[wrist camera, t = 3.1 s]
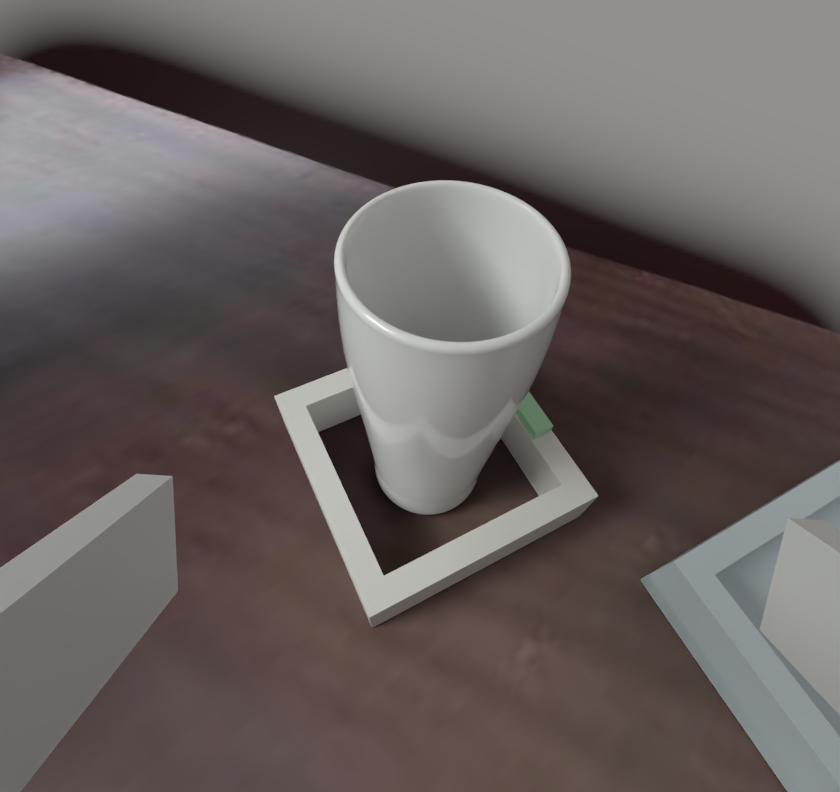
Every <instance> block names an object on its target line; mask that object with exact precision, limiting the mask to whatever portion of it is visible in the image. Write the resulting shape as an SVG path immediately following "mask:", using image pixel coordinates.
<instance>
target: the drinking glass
mask: <svg viewBox="0 0 840 792" xmlns="http://www.w3.org/2000/svg"><path fill="white" fill-rule="evenodd" d="M334 270H335V282H336V297H337V308H338V318H339V326H340V334H341V340H342V346H343V351H344V356H345V360H346V365H347V369H348V373H349V376H350V380H351V384H352V387H353V390H354V394H355V397H356V400H357V403H358V407H359V410H360V413H361V417H362V420H363V423H364V427H365V430H366V433H367V437H368V440H369V444H370V447H371V451H372V454H373V458H374V464H375V472H376V477H377V480H378V483H379V485H380V487H381V489H382V490H383V492H384V493H385V495H386V496H387V497H388V498H389V499H390V500H391V501H392V502H393V503H395V504H396V505H397V506H399V507H400V508H402V509H404V510H406V511H409V512H412V513H416V514H421V515H434V514H440V513H444V512H447V511H449V510H451V509H453V508H455V507H457V506H458V505H460V504H461V503H462V502H463V501H464V500H465V499H466V498H467V497H468V496H469V495H470V493H471V492H472V490H473V488H474V487H475V484H476V482H477V480H478V477H479V474H480V472H481V470H482V469H483V467H484V465H485V463H486V462H487V460H488V458H489V457H490V455H491V453H492V452H493V450H494V448H495V447H496V445H497V443H498V442H499V440H500V438H501V437H502V435H503V433H504V432H505V430H506V429H507V427H508V425H509V424H510V422H511V420H512V419H513V417H514V416H515V414H516V412H517V411H518V409H519V407H520V405H521V404H522V402H523V400H524V399H525V397H526V395H527V393H528V392H529V390H530V388H531V386H532V384H533V382H534V380H535V378H536V376H537V374H538V372H539V370H540V368H541V365H542V363H543V361H544V358H545V356H546V354H547V351H548V349H549V346H550V344H551V341H552V338H553V336H554V333H555V330H556V327H557V325H558V322H559V319H560V315H561V312H562V309H563V306H564V303H565V300H566V298H567V295H568V292H569V288H570V281H571V265H570V259H569V256H568V252H567V249H566V247H565V244H564V242H563V241H562V239H561V237H560V235H559V234H558V232H557V231H556V230H555V228H554V227H553V226H552V225H551V223H550V222H549V221H548V220H547V219H546V218H545V217H544V216H543V215H542V214H540V213H539V212H538V211H537V210H535V209H534V208H533V207H531V206H530V205H528V204H527V203H525V202H524V201H522V200H520V199H519V198H517V197H515V196H513V195H510V194H508V193H506V192H503V191H501V190H498V189H495V188H492V187H489V186H485V185H481V184H476V183H471V182H463V181H452V180H437V181H425V182H419V183H413V184H408V185H405V186H401V187H398V188H395V189H392V190H390V191H387V192H385V193H383V194H381V195H379V196H377V197H375V198H374V199H372V200H371V201H369V202H368V203H366V204H365V205H364V206H362V207H361V208H360V209H359V210H358V211H357V212H356V213H355V214H354V215H353V216H352V217H351V218H350V219H349V221H348V222H347V223H346V225H345V226H344V228H343V230H342V232H341V234H340V236H339V238H338V241H337V244H336V249H335V254H334Z"/></svg>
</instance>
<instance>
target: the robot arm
mask: <svg viewBox="0 0 840 792" xmlns="http://www.w3.org/2000/svg"><path fill="white" fill-rule="evenodd" d="M177 592H178V582H177V561H176V539H175V517H174V496H173V476H161V475H146V474H136V475H134V476H133V477H131V478H130V479H128V480H127V481H125V482H124V483H123V484H121V485H120V486H118V487H117V488H115V489H114V490H112V491H111V492H109V493H108V494H107V495H105V496H104V497H102V498H101V499H99V500H98V501H96V502H95V503H94V504H92V505H91V506H89V507H88V508H86V509H85V510H83V511H82V512H80V513H79V514H78V515H76V516H75V517H73V518H72V519H70V520H69V521H67V522H66V523H64V524H63V525H62V526H60V527H59V528H57V529H56V530H54V531H53V532H51V533H50V534H49V535H47V536H46V537H44V538H43V539H41V540H40V541H38V542H37V543H35V544H34V545H33V546H31V547H30V548H28V549H27V550H25V551H24V552H22V553H21V554H20V555H18V556H17V557H15V558H14V559H12V560H11V561H9V562H8V563H6V564H5V565H4V566H2V567H1V568H0V792H21V790H22V789H23V788H24V787H25V785H26V784H27V783H28V781H29V780H30V779H31V778H32V776H33V775H34V774H35V773H36V771H37V770H38V769H39V767H40V766H41V765H42V764H43V762H44V761H45V760H46V759H47V757H48V756H49V755H50V753H51V752H52V751H53V750H54V748H55V747H56V746H57V745H58V743H59V742H60V741H61V739H62V738H63V737H64V736H65V734H66V733H67V732H68V730H69V729H70V728H71V727H72V725H73V724H74V723H75V722H76V720H77V719H78V718H79V716H80V715H81V714H82V713H83V711H84V710H85V709H86V708H87V706H88V705H89V704H90V702H91V701H92V700H93V699H94V697H95V696H96V695H97V694H98V692H99V691H100V690H101V688H102V687H103V686H104V685H105V683H106V682H107V681H108V679H109V678H110V677H111V676H112V674H113V673H114V672H115V671H116V669H117V668H118V667H119V665H120V664H121V663H122V662H123V660H124V659H125V658H126V657H127V655H128V654H129V653H130V651H131V650H132V649H133V648H134V646H135V645H136V644H137V643H138V641H139V640H140V639H141V637H142V636H143V635H144V634H145V632H146V631H147V630H148V629H149V627H150V626H151V625H152V623H153V622H154V621H155V620H156V618H157V617H158V616H159V614H160V613H161V612H162V611H163V609H164V608H165V607H166V606H167V604H168V603H169V602H170V600H171V599H172V598H173V597H174V595H175V594H176V593H177ZM760 631H761V632H762V633H763V634H764V635H765V636H766V637H767V638H768V640H769V641H770V642H771V643H772V644H773V645H774V646H775V647H776V648H777V649H778V650H779V651H780V652H781V653H782V654H783V656H784V657H785V658H786V659H787V660H788V661H789V662H790V663H791V664H792V665H793V666H794V667H795V668H796V669H797V671H798V672H799V673H800V674H801V675H802V676H803V677H804V678H805V679H806V680H807V681H808V682H809V683H810V684H811V686H812V687H813V688H814V689H815V690H816V691H817V692H818V693H819V694H820V695H821V696H822V697H823V698H824V699H825V700H826V702H827V703H828V704H829V705H830V706H831V707H832V708H833V709H834V710H835V711H836V712H837V713H838V714H839V715H840V530H838V529H837V528H835V527H834V526H832V525H830V524H829V523H827V522H826V521H824V520H813V519H798V518H788V519H787V523H786V527H785V531H784V534H783V538H782V542H781V546H780V550H779V554H778V558H777V562H776V566H775V570H774V574H773V578H772V582H771V586H770V590H769V594H768V598H767V602H766V606H765V610H764V614H763V618H762V622H761V626H760Z"/></svg>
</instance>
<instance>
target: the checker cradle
mask: <svg viewBox="0 0 840 792" xmlns="http://www.w3.org/2000/svg"><path fill="white" fill-rule="evenodd" d="M274 397H275V400H276V402H277V405H278V408H279V410H280V413H281V415H282V418H283V420H284V423H285V425H286V428H287V430H288V433H289V435H290V437H291V440H292V442H293V444H294V447H295V449H296V451H297V454H298V456H299V458H300V461H301V463H302V465H303V468H304V470H305V472H306V475H307V477H308V479H309V482H310V484H311V486H312V489H313V491H314V493H315V496H316V498H317V500H318V503H319V505H320V507H321V510H322V512H323V514H324V517H325V519H326V521H327V524H328V526H329V528H330V531H331V533H332V535H333V538H334V540H335V542H336V545H337V547H338V549H339V552H340V554H341V557H342V559H343V561H344V564H345V566H346V568H347V571H348V573H349V575H350V578H351V580H352V582H353V585H354V587H355V589H356V592H357V594H358V596H359V599H360V601H361V603H362V606H363V608H364V610H365V613H366V615H367V617H368V620H369V622H370V624H371V627H372V628H373V627H375V626H377V625H379V624H381V623H383V622H384V621H386V620H388V619H390V618H392V617H394V616H396V615H397V614H399V613H401V612H403V611H405V610H407V609H409V608H410V607H412V606H414V605H416V604H418V603H420V602H422V601H423V600H425V599H427V598H429V597H431V596H433V595H435V594H436V593H438V592H440V591H442V590H444V589H446V588H448V587H449V586H451V585H453V584H455V583H457V582H459V581H461V580H462V579H464V578H466V577H468V576H470V575H472V574H474V573H475V572H477V571H479V570H481V569H483V568H485V567H487V566H488V565H490V564H492V563H494V562H496V561H498V560H500V559H501V558H503V557H505V556H507V555H509V554H511V553H513V552H514V551H516V550H518V549H520V548H522V547H524V546H526V545H527V544H529V543H531V542H533V541H535V540H537V539H539V538H540V537H542V536H544V535H546V534H548V533H550V532H552V531H553V530H555V529H557V528H559V527H561V526H563V525H565V524H566V523H568V522H570V521H572V520H574V519H576V518H578V517H579V516H580V515H581V514H582V513H583V512H584V511H585V510H586V509H587V508H588V507H589V505H590V504H591V503H592V502H593V501H594V500H595V499H596V498H597V497H598V494H597V493H596V492H595V490H594V489H593V487H592V486H591V485H590V483H589V482H588V480H587V479H586V478H585V476H584V475H583V473H582V472H581V471H580V469H579V468H578V466H577V465H576V464H575V462H574V461H573V459H572V458H571V457H570V455H569V454H568V452H567V451H566V450H565V448H564V447H563V445H562V444H561V443H560V441H559V440H558V438H557V437H556V436H555V434H554V433H553V431H552V428H553V424H552V423H551V422H550V420H549V419H548V417H547V416H546V415H545V413H544V412H543V410H542V409H541V408H540V406H539V405H538V403H537V402H536V401H535V399H534V398H533V396H532V395H531V394H530V392H528V393H527V395H526V397H525V399H524V400H523V402H522V404H521V405H520V407H519V409H518V411H517V412H516V414H515V416H514V417H513V419H512V420H511V422H510V424H509V425H508V427H507V429H506V430H505V432H504V433H503V435H502V437H501V439H502V441H503V442H504V444H505V445H506V447H507V448H508V450H509V451H510V453H511V454H512V456H513V457H514V459H515V461H516V462H517V464H518V465H519V467H520V468H521V470H522V471H523V473H524V474H525V476H526V477H527V479H528V480H529V482H530V483H531V485H532V487H533V488H534V490H535V491H536V493H537V494H538V496H539V497H537V498H535V499H533V500H531V501H529V502H527V503H525V504H523V505H521V506H519V507H517V508H515V509H513V510H511V511H509V512H507V513H505V514H503V515H501V516H499V517H497V518H496V519H494V520H492V521H490V522H488V523H486V524H484V525H482V526H480V527H478V528H476V529H474V530H472V531H470V532H468V533H466V534H464V535H462V536H460V537H458V538H456V539H455V540H453V541H451V542H449V543H447V544H445V545H443V546H441V547H439V548H437V549H435V550H433V551H431V552H429V553H427V554H425V555H423V556H421V557H419V558H417V559H415V560H414V561H412V562H410V563H408V564H406V565H404V566H402V567H400V568H398V569H396V570H394V571H392V572H390V573H388V574H386V575H383V573H382V571H381V569H380V566H379V564H378V562H377V560H376V558H375V556H374V553H373V551H372V549H371V547H370V545H369V543H368V540H367V538H366V536H365V534H364V532H363V529H362V527H361V525H360V523H359V521H358V519H357V516H356V514H355V512H354V510H353V508H352V506H351V503H350V501H349V499H348V497H347V495H346V492H345V490H344V488H343V486H342V484H341V482H340V479H339V477H338V475H337V473H336V471H335V468H334V466H333V464H332V462H331V460H330V458H329V455H328V453H327V451H326V449H325V447H324V445H323V442H322V440H321V438H320V436H319V434H318V432H320V431H322V430H325V429H327V428H329V427H332V426H334V425H337V424H339V423H342V422H344V421H346V420H349V419H351V418H354V417H356V416H358V415H361V413H360V410H359V407H358V403H357V400H356V397H355V394H354V390H353V387H352V384H351V380H350V376H349V373H348V369H347V368H346V369H343V370H341V371H338V372H336V373H333V374H330V375H328V376H325V377H323V378H320V379H317V380H315V381H312V382H310V383H307V384H304V385H302V386H299V387H297V388H294V389H291V390H289V391H286V392H284V393H281V394H279V395H276V396H274Z"/></svg>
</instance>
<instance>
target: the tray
mask: <svg viewBox="0 0 840 792" xmlns="http://www.w3.org/2000/svg"><path fill="white" fill-rule="evenodd" d="M788 518H798V519H813V520H824V521H826V522H827V523H829V524H830V525H832V526H834V527H835V528H837V529H838V530H840V459H839V460H837V461H836V462H834V463H832V464H831V465H829V466H827V467H826V468H824V469H822V470H821V471H819V472H817V473H816V474H814V475H812V476H811V477H809V478H807V479H806V480H804V481H802V482H801V483H799V484H797V485H796V486H794V487H792V488H791V489H789V490H787V491H786V492H784V493H782V494H781V495H779V496H777V497H776V498H774V499H772V500H771V501H769V502H767V503H766V504H764V505H763V506H761V507H759V508H758V509H756V510H754V511H753V512H751V513H749V514H748V515H746V516H744V517H743V518H741V519H739V520H738V521H736V522H734V523H733V524H731V525H729V526H728V527H726V528H724V529H723V530H721V531H719V532H718V533H716V534H714V535H713V536H711V537H709V538H708V539H706V540H704V541H703V542H701V543H699V544H698V545H696V546H694V547H693V548H691V549H689V550H688V551H686V552H684V553H683V554H681V555H679V556H678V557H676V558H674V559H673V560H671V561H669V562H668V563H666V564H664V565H663V566H661V567H660V568H658V569H656V570H655V571H653V572H651V573H650V574H648V575H646V576H645V577H643V578H641V579H640V581H641V582H642V584H643V585H644V587H645V588H646V589H647V591H648V592H649V594H650V595H651V597H652V598H653V599H654V601H655V602H656V604H657V605H658V607H659V608H660V610H661V611H662V612H663V614H664V615H665V617H666V618H667V620H668V621H669V622H670V624H671V625H672V627H673V628H674V630H675V631H676V633H677V634H678V635H679V637H680V638H681V640H682V641H683V643H684V644H685V645H686V647H687V648H688V650H689V651H690V653H691V654H692V656H693V657H694V658H695V660H696V661H697V663H698V664H699V666H700V667H701V668H702V670H703V671H704V673H705V674H706V676H707V677H708V678H709V680H710V681H711V683H712V684H713V686H714V687H715V689H716V690H717V691H718V693H719V694H720V696H721V697H722V699H723V700H724V701H725V703H726V704H727V706H728V707H729V709H730V710H731V712H732V713H733V714H734V716H735V717H736V719H737V720H738V722H739V723H740V724H741V726H742V727H743V729H744V730H745V732H746V733H747V735H748V736H749V737H750V739H751V740H752V742H753V743H754V745H755V746H756V747H757V749H758V750H759V752H760V753H761V755H762V756H763V758H764V759H765V760H766V762H767V763H768V765H769V766H770V768H771V769H772V770H773V772H774V773H775V775H776V776H777V778H778V779H779V780H780V782H781V783H782V785H783V786H784V788H785V789H786V791H787V792H840V715H839V714H838V713H837V712H836V711H835V710H834V709H833V708H832V707H831V706H830V705H829V704H828V703H827V702H826V700H825V699H824V698H823V697H822V696H821V695H820V694H819V693H818V692H817V691H816V690H815V689H814V688H813V687H812V686H811V684H810V683H809V682H808V681H807V680H806V679H805V678H804V677H803V676H802V675H801V674H800V673H799V672H798V671H797V669H796V668H795V667H794V666H793V665H792V664H791V663H790V662H789V661H788V660H787V659H786V658H785V657H784V656H783V654H782V653H781V652H780V651H779V650H778V649H777V648H776V647H775V646H774V645H773V644H772V643H771V642H770V641H769V640H768V638H767V637H766V636H765V635H764V634H763V633H762V632H761V631H760V626H761V622H762V618H763V614H764V610H765V606H766V602H767V598H768V594H769V590H770V586H771V582H772V578H773V574H774V570H775V566H776V562H777V558H778V554H779V550H780V546H781V542H782V538H783V534H784V531H785V527H786V523H787V519H788Z"/></svg>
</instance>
